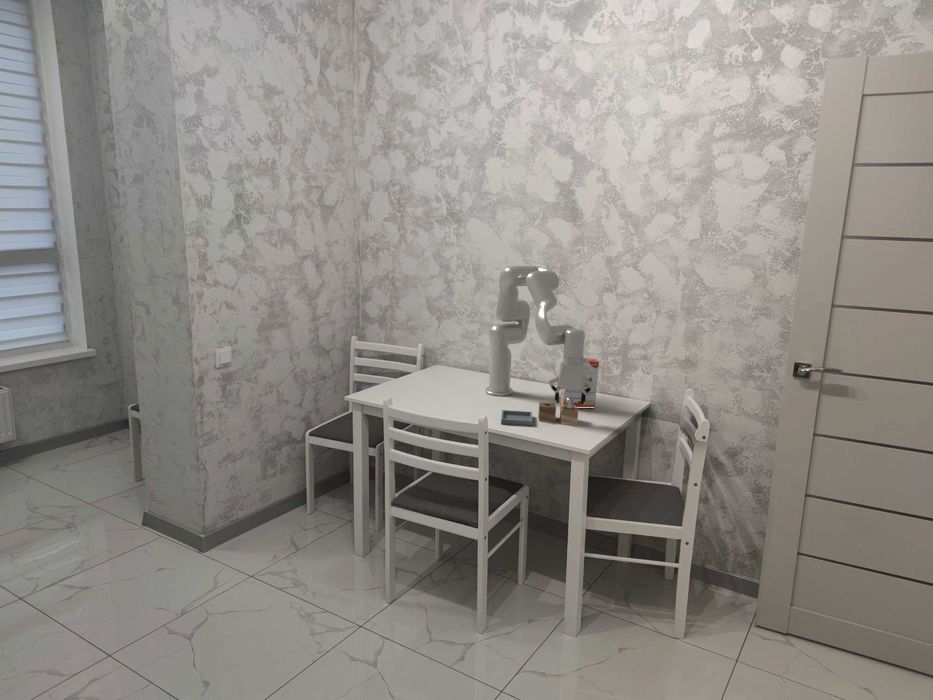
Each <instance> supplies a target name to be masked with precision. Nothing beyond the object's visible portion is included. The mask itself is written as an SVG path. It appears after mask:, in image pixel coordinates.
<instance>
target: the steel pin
mask: <svg viewBox="0 0 933 700" xmlns="http://www.w3.org/2000/svg"><path fill="white" fill-rule="evenodd" d="M572 406H573V398H572V397H567V404H566V409H572Z"/></svg>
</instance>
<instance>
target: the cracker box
mask: <svg viewBox="0 0 933 700" xmlns="http://www.w3.org/2000/svg"><path fill="white" fill-rule="evenodd" d="M583 364H584V369H585V379H587V380H588V381H590V382H592V383H593V384H594V385H593V387H592V389H591V390H590V391H589V392H588V393H587V394H586V397H585V402H584V403H583V405H582V404H581V393H582V391H581V390H571V389H561V390H560V391H561V392H560V400H559V402H560V404H561V405H566V404H567V397H572V398H573V406H577V407H595V408H596V399H597V398H596V397H597V396H596V395H597V385H598V379H599V377H598V376H599V367H600V362H599V361H598V360H597V359H596V358H587V361H586V362H583ZM588 386H589V385H588V384H587V383H585V385H584V389H586V388H588ZM561 405H560V406H561Z"/></svg>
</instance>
